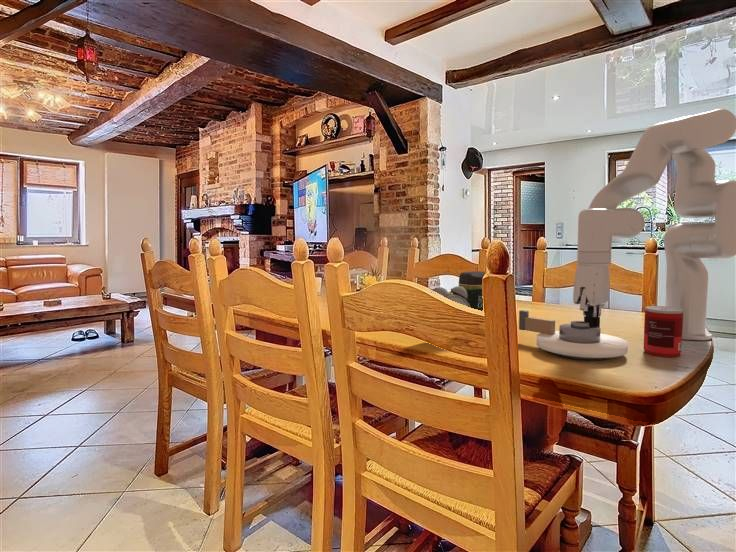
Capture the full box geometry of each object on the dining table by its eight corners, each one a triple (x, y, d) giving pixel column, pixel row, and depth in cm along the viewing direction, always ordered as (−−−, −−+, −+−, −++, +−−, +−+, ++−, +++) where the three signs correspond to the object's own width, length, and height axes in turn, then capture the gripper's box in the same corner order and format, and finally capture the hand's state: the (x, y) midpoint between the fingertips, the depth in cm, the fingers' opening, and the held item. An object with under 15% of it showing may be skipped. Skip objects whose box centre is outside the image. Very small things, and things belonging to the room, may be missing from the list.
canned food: (669, 349, 112) (671, 305, 111) (688, 358, 104) (691, 311, 103) (636, 349, 113) (638, 305, 112) (653, 357, 105) (655, 310, 104)
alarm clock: (434, 345, 119) (434, 288, 118) (423, 339, 126) (423, 286, 124) (472, 341, 123) (473, 286, 122) (459, 336, 129) (459, 284, 128)
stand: (566, 343, 120) (566, 339, 119) (622, 353, 109) (623, 349, 109) (538, 351, 111) (538, 348, 111) (596, 363, 100) (596, 359, 100)
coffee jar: (471, 338, 126) (471, 272, 125) (453, 333, 133) (453, 271, 132) (497, 335, 131) (498, 271, 129) (478, 330, 138) (479, 269, 136)
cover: (570, 333, 115) (571, 317, 115) (607, 340, 108) (607, 322, 108) (551, 339, 110) (552, 321, 109) (588, 345, 103) (589, 327, 102)
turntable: (539, 331, 129) (540, 306, 128) (641, 348, 108) (643, 319, 107) (497, 341, 116) (497, 314, 116) (603, 362, 96) (604, 330, 95)
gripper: (592, 257, 119) (590, 326, 121) (563, 259, 110) (561, 333, 111) (622, 258, 113) (620, 330, 115) (595, 260, 104) (592, 339, 105)
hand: (591, 332), depth 113 cm, fingers closed
